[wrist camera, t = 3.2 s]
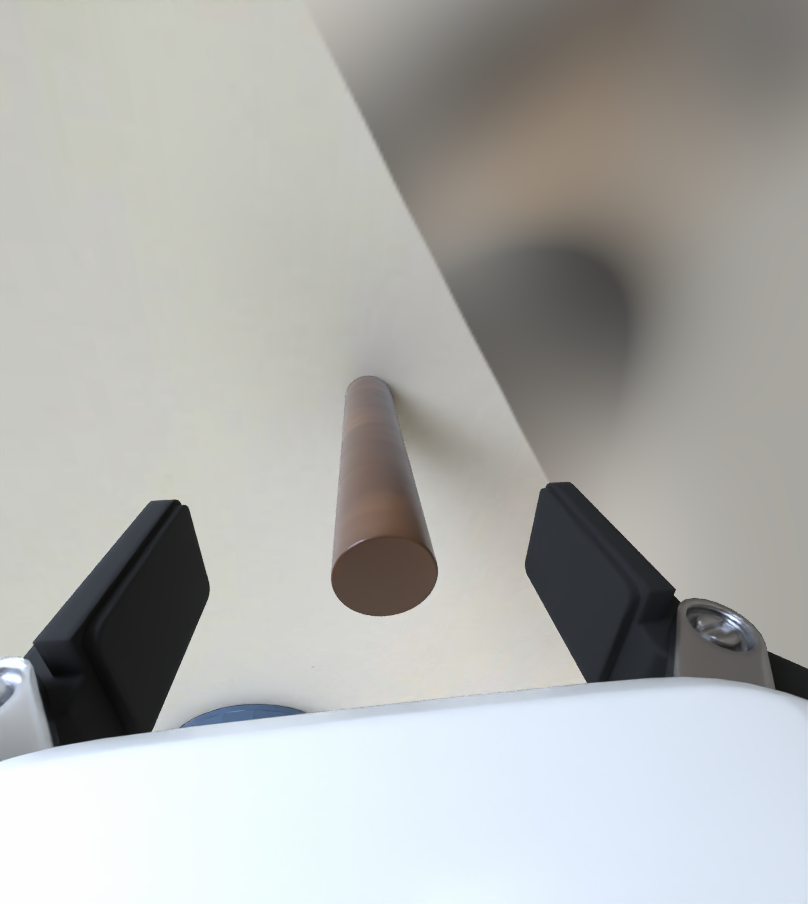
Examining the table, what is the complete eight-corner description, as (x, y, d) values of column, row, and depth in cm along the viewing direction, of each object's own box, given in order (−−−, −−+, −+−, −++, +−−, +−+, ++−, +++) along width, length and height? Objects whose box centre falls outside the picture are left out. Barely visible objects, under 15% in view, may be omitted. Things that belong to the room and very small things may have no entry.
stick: (391, 375, 21) (441, 532, 9) (391, 419, 23) (435, 613, 10) (344, 375, 21) (327, 538, 9) (346, 420, 22) (334, 620, 10)
